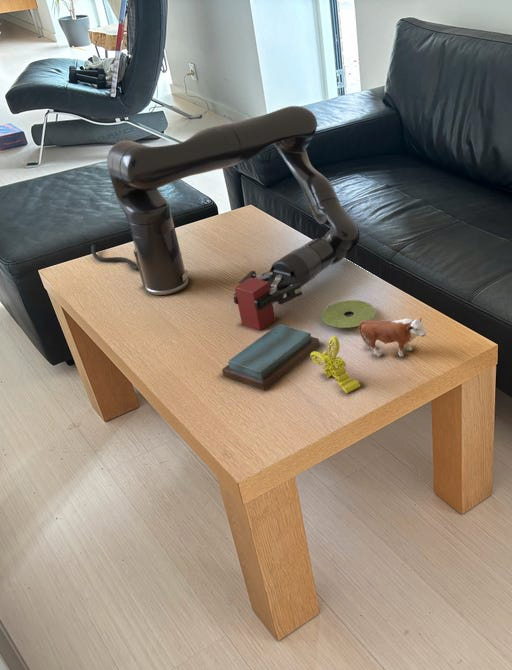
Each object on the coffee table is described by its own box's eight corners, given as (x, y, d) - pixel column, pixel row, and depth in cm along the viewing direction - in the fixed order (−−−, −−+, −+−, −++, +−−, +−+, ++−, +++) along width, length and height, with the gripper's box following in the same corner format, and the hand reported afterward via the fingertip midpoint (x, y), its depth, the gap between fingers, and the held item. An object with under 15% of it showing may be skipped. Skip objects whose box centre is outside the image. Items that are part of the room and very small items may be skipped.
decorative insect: (330, 402, 140) (306, 355, 140) (344, 395, 142) (320, 348, 142) (356, 387, 129) (330, 337, 129) (371, 380, 131) (345, 330, 131)
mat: (347, 341, 148) (346, 333, 147) (311, 322, 154) (310, 314, 153) (387, 319, 155) (386, 311, 154) (351, 302, 161) (350, 294, 160)
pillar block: (241, 325, 155) (234, 287, 150) (257, 314, 158) (250, 277, 153) (260, 330, 152) (253, 292, 147) (275, 319, 156) (269, 282, 151)
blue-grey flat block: (223, 376, 139) (220, 362, 137) (280, 333, 151) (278, 320, 150) (264, 390, 135) (261, 376, 133) (319, 345, 147) (317, 331, 145)
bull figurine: (426, 362, 141) (424, 326, 136) (358, 356, 143) (355, 320, 139) (430, 349, 145) (429, 314, 140) (365, 343, 147) (361, 308, 142)
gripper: (325, 290, 161) (275, 327, 149) (274, 277, 167) (222, 311, 155) (321, 259, 157) (269, 294, 145) (269, 247, 163) (215, 279, 151)
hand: (245, 303), depth 150 cm, fingers closed on pillar block, 5 cm apart
